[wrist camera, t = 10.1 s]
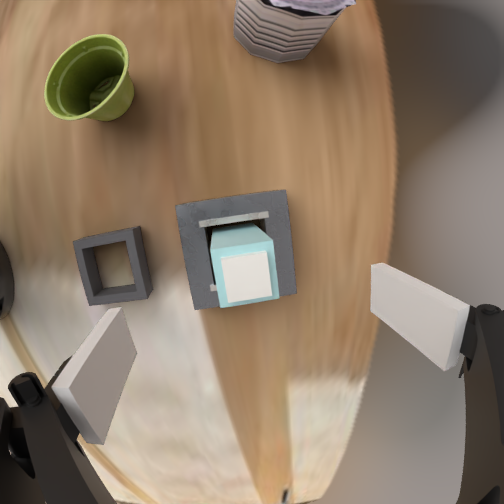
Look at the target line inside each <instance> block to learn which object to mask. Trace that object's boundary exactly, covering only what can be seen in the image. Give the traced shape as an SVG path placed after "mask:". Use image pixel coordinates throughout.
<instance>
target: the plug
mask: <svg viewBox="0 0 504 504" xmlns="http://www.w3.org/2000/svg"><path fill="white" fill-rule="evenodd" d="M210 251H211V257H212V263H213V269H214V275H215V281H216V286H217V292H218V297H219V303H220V308H225V307H231V306H238V305H244V304H250V303H256V302H262V301H267V300H273V299H279V289H278V280H277V271H276V262H275V254H274V245H273V240H272V239H271V238H270V237H269V236H268V235H266V234H265V233H264V232H263V231H262V230H261V229H259V228H258V227H257V226H256V225H255V224H254V223H246V224H239V225H233V226H226V227H219V228H213V232H212V240H211V248H210Z"/></svg>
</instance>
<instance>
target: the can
mask: <svg viewBox="0 0 504 504" xmlns="http://www.w3.org/2000/svg"><path fill="white" fill-rule="evenodd" d="M353 4H356V1H355V0H236V7H235V14H234V38H235V39H236V40H237V41H238V42H239V43H240V44H241V45H242V46H243V47H244V48H245V49H246V50H247V51H248V52H249V53H250V55H254V56H257V57H260V58H264V59H267V60H270V61H273V62H276V63H281V62H287V61H293V60H300V59H304V58H305V57H306V56H307V54H308V53H309V52H310V51H311V50H312V49H313V48H314V47H315V46H316V45H317V44H318V42H319V41H320V40H321V38H322V37H323V36H324V34H325V33H326V32H327V31H328V29H329V28H330V27H331V25H332V24H333V23H334V22H335V20H336V19H337V18H338V17H339V15H340V14H341V13H342V12H343V10H344V9H345V8H346V7H348V6H351V5H353Z"/></svg>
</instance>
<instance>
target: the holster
mask: <svg viewBox="0 0 504 504" xmlns="http://www.w3.org/2000/svg"><path fill="white" fill-rule="evenodd" d="M125 240H126V245H127V250H128V255H129V259H130V264H131V268H132V273H133V277H134V281H135V284H132V285H125V286H118V287H111V288H104V289H103V287H102V284H101V280H100V276H99V272H98V268H97V264H96V259H95V255H94V250H93V247H94V246H99V245H104V244H109V243H115V242H120V241H125ZM73 245H74V249H75V254H76V258H77V263H78V267H79V271H80V275H81V279H82V282H83V286H84V289H85V293H86V296H87V300H88V303H89V306H92V305H101V304H109V303H118V302H126V301H134V300H142V299H148V297H149V296H150V294H151V292H152V291H153V287H152V283H151V279H150V274H149V270H148V265H147V260H146V256H145V251H144V246H143V241H142V235H141V230H140V226H138V227H133V228H127V229H122V230H117V231H112V232H107V233H102V234H97V235H93V236H88V237H84V238H81V239H78V240H76V241H73Z"/></svg>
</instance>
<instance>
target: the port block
mask: <svg viewBox="0 0 504 504" xmlns="http://www.w3.org/2000/svg"><path fill="white" fill-rule="evenodd" d="M175 207H176V214H177V220H178V226H179V232H180V238H181V243H182V249H183V254H184V260H185V265H186V270H187V275H188V280H189V285H190V290H191V295H192V300H193V304H194V309H195V310H199V309H206V308H213V307H220V303H219V297H218V292H217V286H216V281H215V275H214V269H213V264H212V258H211V252H210V246H209V239H208V233H207V226H213V225H220V224H226V223H233V222H240V221H246V220H253V219H259V220H260V228H261V230H262V231H263V232H264V233H265V234H266V235H268V236H269V237H270V238H271V239H272V240H273V245H274V254H275V262H276V271H277V280H278V289H279V297H280V296H285V295H291V294H296V293H297V290H296V279H295V268H294V258H293V247H292V238H291V228H290V219H289V211H288V202H287V194H286V190H273V191H265V192H257V193H249V194H242V195H235V196H228V197H221V198H214V199H208V200H201V201H195V202H189V203H183V204H179V205H176V206H175Z"/></svg>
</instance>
